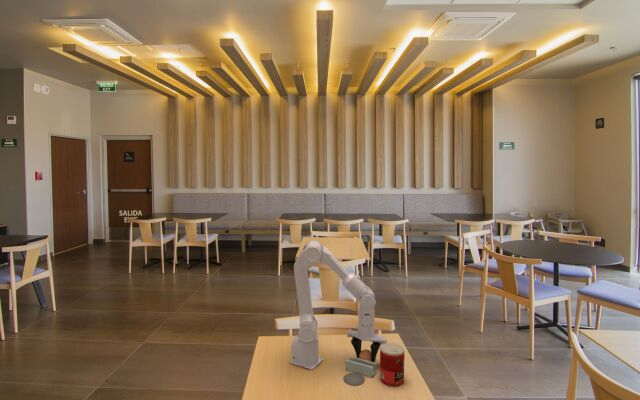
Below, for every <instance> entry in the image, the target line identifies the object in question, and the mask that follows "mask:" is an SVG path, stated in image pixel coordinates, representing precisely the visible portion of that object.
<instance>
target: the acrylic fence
mask: <svg viewBox="0 0 640 400" xmlns="http://www.w3.org/2000/svg"><path fill="white" fill-rule="evenodd" d="M348 358H349V359H345V371H347V372H350V373H358V374H360V375H362V376H365V377H369V378H374V377H375V375H377V362H370V361H366V360H363V359H359V358H357V357H356V356H353V355H352V356H351V355H349V357H348Z"/></svg>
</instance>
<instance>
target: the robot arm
mask: <svg viewBox="0 0 640 400" xmlns="http://www.w3.org/2000/svg"><path fill="white" fill-rule="evenodd" d="M318 262H319V264H318V265H326V266H328V268H330V269H331V270H332V271H333V272H334V273H335V274H336V275H337V276H338V277H339V278H340V279H341V280H342V286H343V287H344V288H345V289H346V290H347V291H348V292H349V293H350V294H351V296H353V297H354V299H356V300H358V304H359V306H358V315H357V316H358V323H357V327H358V329H357V330H352V329H348V330H347V331H346V338H351V340H350V344H351V345H352V347H353V349H354V351H355V355H356V356H355V357H356V358H359V355H360V352H361V351H362V343H363V341H364V342H371V344H370V351H371V362H374V363H376V360H377V359H376V358H377V355H378V353H379V351H380V347H381V345H382V344H385V343H388V341H387V339H388V338H386V337H383V336H380V335H378V334H376V333H375V316H376V315H375V313H376V312H375V306H376V304H377V301H376V296H375V293H374V291H373V290H372V288H370V287H369V285H366V284H365V283H364V282H363V281H362V279H361V277H360V275H359V274H357V275H356V274H355V273H351V272H349V271H348V270H347V269H346V268H345V267H344V266H343V264H342V263H341V262H340V261H339V260H338V259H337V258H336V257H335V256H334V254H333V253H332V252H331V251H330V250H329V249H328V248H327V247H326V246H324V245H323V243H321V242H320V241H319V240H316V239H312V240H308V241H307V243H306V244H305V245H303V247H302V249H301V251H300V253H299V255H298V257H297V258H296V260H295V262H294V264H293V272H294V282H295V288H296V296H297V303H298V304H297V305H298V310H299V311H298V312H299V330H298V332H297V333H298V334H297V335H294V337H293V338H292V341H291V344H290V353H291V357H290V358H291V359H290V362H289V363H290V364H292V365H295V366H299V367H301V368H306V369H309V370H314V369H315V368H316V367H317V366H318V365H320V363H322V362H323V360H324V358H322V357H319V335H318V334H317V330H318V329H317V328H318V320H317V318H316V317H315V314H314V313H315V312H314V311H313V304H312V297H311V296H312V295H311V286H310V279H309V273H308V272H309V271H308V270H309V269H310V268H311V267H312V265H314V264H317V263H318Z"/></svg>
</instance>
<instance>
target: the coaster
mask: <svg viewBox="0 0 640 400" xmlns="http://www.w3.org/2000/svg"><path fill="white" fill-rule="evenodd" d="M365 381H366V380H365V377H364V375H361V374H358V373H354V372H350V373H347V374H345V375H344V376H343V382H344V383H345V384H347V385H349V386H352V387H353V386H355V387H356V386H361V385H363V384H364V383H365Z"/></svg>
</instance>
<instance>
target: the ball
mask: <svg viewBox="0 0 640 400" xmlns="http://www.w3.org/2000/svg"><path fill="white" fill-rule="evenodd" d="M359 359H363V360H366V361H370V362H371V349H363V350H362V349H361V352H360V355H359Z"/></svg>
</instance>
